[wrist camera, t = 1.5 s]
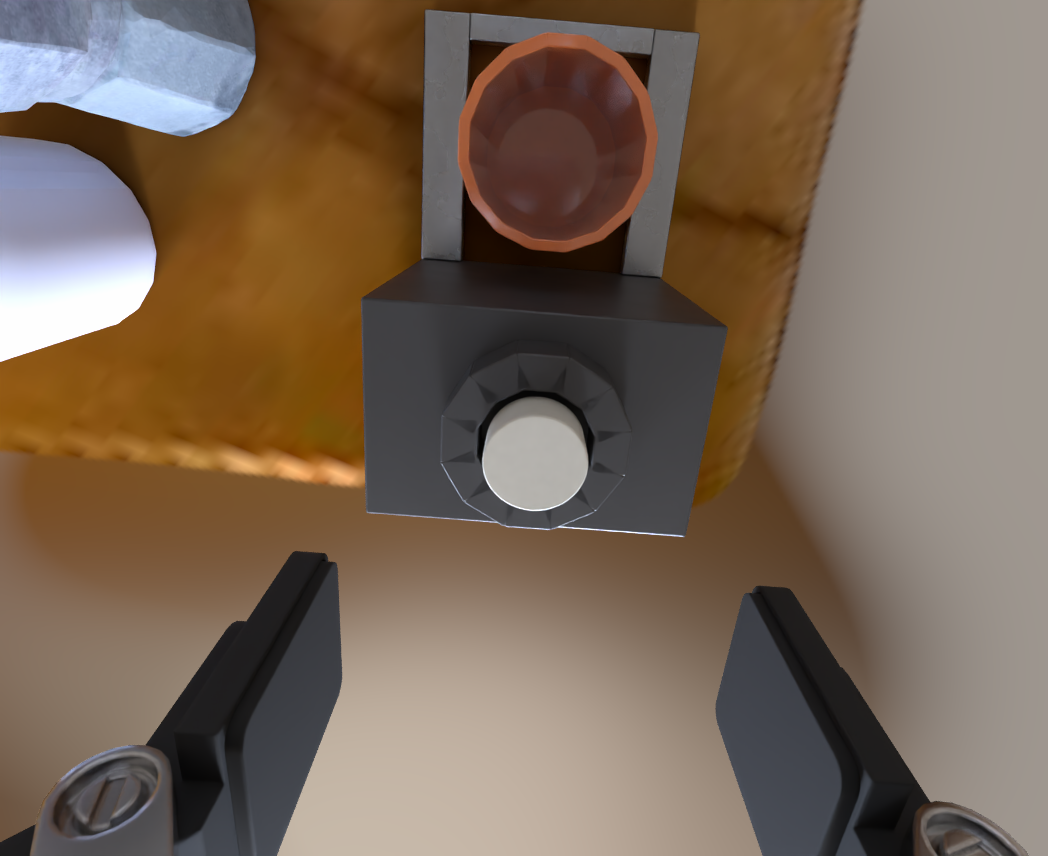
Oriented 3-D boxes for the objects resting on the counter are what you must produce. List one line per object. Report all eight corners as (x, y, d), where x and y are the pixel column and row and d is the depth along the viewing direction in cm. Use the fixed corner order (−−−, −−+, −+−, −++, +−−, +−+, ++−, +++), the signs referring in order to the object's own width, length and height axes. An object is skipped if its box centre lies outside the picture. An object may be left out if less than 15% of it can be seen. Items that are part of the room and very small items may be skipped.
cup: (483, 73, 28) (461, 24, 20) (630, 85, 28) (671, 42, 20) (476, 228, 30) (454, 244, 22) (611, 239, 30) (640, 259, 22)
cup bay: (428, 14, 27) (424, 8, 26) (695, 37, 27) (700, 32, 26) (424, 257, 31) (420, 259, 30) (658, 275, 31) (661, 278, 30)
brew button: (489, 392, 19) (485, 410, 18) (589, 399, 19) (594, 419, 18) (483, 482, 20) (479, 507, 19) (578, 489, 20) (582, 515, 19)
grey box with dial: (424, 257, 31) (343, 307, 18) (658, 275, 31) (747, 339, 18) (422, 404, 34) (351, 539, 21) (635, 421, 34) (698, 565, 21)
